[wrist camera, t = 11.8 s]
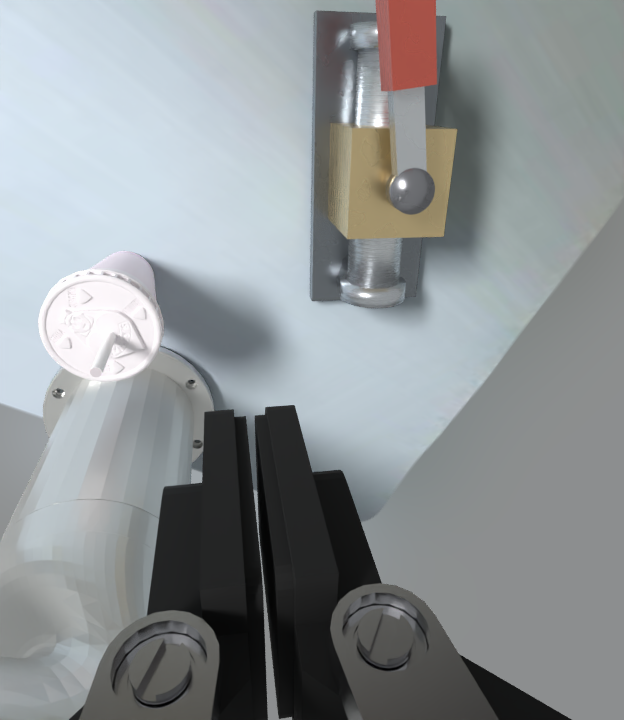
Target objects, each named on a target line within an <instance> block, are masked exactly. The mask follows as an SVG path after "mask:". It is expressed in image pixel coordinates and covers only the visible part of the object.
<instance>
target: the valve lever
mask: <svg viewBox="0 0 624 720" xmlns="http://www.w3.org/2000/svg"><path fill="white" fill-rule="evenodd" d="M376 15H377V31H378V48H379V64H380V81H381V91H387V92H388V110H389V128H390V146H391V164H392V174H391V175H390V177H389V179H388V181H387V183H386V197H387V200H388V202H389V203H390V204H391V205H392V206H393V207H394V208H396V209H397V210H399V211H401V212H402V213H405V214H409V215H413V214H418V213H420V212H422V211H424V210H425V209H426V208H427V207H428V206H429V205H430V203H431V202H432V200H433V197H434V193H435V184H434V181H433V178H432V177H431V175H430V174H429V173H428V172H427V164H426V126H425V88H424V86H430V85H436V84H437V53H436V0H376Z"/></svg>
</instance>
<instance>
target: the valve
mask: <svg viewBox="0 0 624 720" xmlns="http://www.w3.org/2000/svg"><path fill="white" fill-rule="evenodd" d="M445 23H446V16H436V53H437V84H436V85H430V86H424V88H425V126H426V164H427V172H428V173H429V174H430V175H431V177H432V178H433V181H434V184H435V193H434V197H433V200H432V202H431V203H430V205H429V206H428V207H427V208H426V209H425V210H424V211H422V212H420V213H418V214H413V215H409V214H405V213H402V212H401V211H399V210H397V209H396V208H394V207H393V206H392V205H391V204H390V203H389V202H388V200H387V197H386V183H387V181H388V179H389V177H390V175H391V174H392V164H391V146H390V128H389V110H388V92H387V91H381V81H380V64H379V48H378V31H377V15H376V13H359V12H336V11H316V12H315V13H314V49H313V117H312V186H311V254H310V298H311V300H312V301H324V300H343V301H344V302H346V303H348V304H351V305H354V306H359V307H365V308H388V307H393V306H397V305H399V304H401V303H402V302H403V301H404V298H405V297H416V289H417V280H418V271H419V262H420V252H421V243H422V237H444V230H445V222H446V214H447V206H448V198H449V190H450V183H451V175H452V167H453V159H454V151H455V143H456V135H457V129H453V128H446V127H439V126H434V124H435V115H436V105H437V96H438V87H439V78H440V69H441V59H442V50H443V41H444V32H445Z"/></svg>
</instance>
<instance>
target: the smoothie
mask: <svg viewBox="0 0 624 720" xmlns="http://www.w3.org/2000/svg"><path fill="white" fill-rule="evenodd" d="M38 324H39V332H40V336H41V340H42V342H43V345H44V346H45V348H46V350H47V351H48V353H49V354H50V356H51V357H52V358H53V359H54V360H55V361H56V362H57V363H58V364H59V365H60V366H61V367H63V368H64V369H66V370H67V371H69V372H70V373H72V374H74V375H76V376H79V377H81V378H84V379H88V380H92V381H99V382H113V381H120V380H124V379H127V378H130V377H132V376H134V375H136V374H138V373H140V372H141V371H143V370H144V369H145V368H146V367H147V366H148V365H149V364H150V363H151V362H152V361H153V359H154V358H155V356H156V355H157V353H158V350H159V348H160V345H161V342H162V338H163V335H164V320H163V317H162V314H161V310H160V307H159V305H158V304H157V302H156V291H155V279H154V273H153V270H152V267H151V266H150V264H149V263H148V262H147V261H146V260H145V259H144V258H143V257H142V256H140V255H138V254H136V253H133V252H129V251H119V252H115V253H113V254H111V255H109V256H107V257H106V258H104V259H103V260H101V261H100V262H98V263H97V264H95V265H94V266H92V267H91V268H89V269H88V270H83V271H78V272H75V273H73V274H71V275H69V276H67V277H65V278H63V279H61V280H60V281H59V282H58V283H57V284H56V285H55V286H54V287H53V288H52V289H51V290H50V292H49V293H48V295H47V297H46V299H45V301H44V302H43V305H42V307H41V310H40V314H39V323H38Z"/></svg>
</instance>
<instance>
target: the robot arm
mask: <svg viewBox="0 0 624 720" xmlns="http://www.w3.org/2000/svg"><path fill="white" fill-rule="evenodd" d="M189 380H195V381H193V382H191V381H189ZM60 389H62V390H60ZM43 421H44V425H45V428H46V433H47V435H48V436H49V440H48V442H47V445H46V447H45V449H44V451H43V453H42V455H41V458H40V459H39V461H38V464H37V465H36V468H35V470H34V472H33V474H32V476H31V478H30V480H29V482H28V484H27V486H26V488H25V491H24V493H23V495H22V497H21V499H20V501H19V503H18V505H17V507H16V509H15V511H14V513H13V516H12V518H11V520H10V522H9V524H8V526H7V528H6V530H5V532H4V535H3V537H2V539H1V541H0V720H268V715H267V691H266V690H267V689H266V662H265V634H264V610H263V609H264V608H263V586H262V572H261V561H260V551H259V541H258V533H257V522H256V512H255V503H254V493H253V483H252V473H251V463H250V453H249V444H248V434H247V424H246V416H244V417H234V410H221V411H214V402H213V399H212V395H211V392H210V389H209V387H208V385H207V384H206V382H205V380H204V378H203V377H202V376H201V374H200V373H199V372H198V371H197V370H196V369H195V368H194V366H193V365H191V364H190V363H189V362H187V361H186V360H185V359H184V358H182V357H181V356H179V355H177V354H176V353H174V352H172V351H170V350H168V349H166V348H163V347H160V348H159V350H158V353H157V355H156V356H155V358H154V359H153V361H152V362H151V363H150V364H149V365H148V366H147V367H146V368H145V369H144V370H143V371H141V372H140V373H138V374H136V375H134V376H132V377H130V378H127V379H124V380H120V381H113V382H99V381H92V380H88V379H84V378H81V377H79V376H76V375H74V374H72V373H70V372H69V371H67V370H66V369H64V368H63V367H61V368H60V370H59V371H58V372H57V374H56V375H55V377H54V378H53V380H52V382H51V383H50V385H49V387H48V389H47V392H46V395H45V400H44V404H43ZM255 440H256V466H257V492H258V515H259V516H258V517H259V535H260V546H261V556H262V565H263V575H264V584H265V594H266V603H267V613H268V622H269V631H270V641H271V650H272V660H273V669H274V679H275V688H276V698H277V707H278V715H279V719H281V718H287V717H292V720H571V719H569V718H568V717H566V716H564V715H563V714H561V713H559V712H557V711H556V710H554V709H552V708H551V707H549V706H547V705H545V704H544V703H542V702H540V701H539V700H537V699H535V698H533V697H532V696H530V695H528V694H526V693H525V692H523V691H521V690H520V689H518V688H516V687H515V686H513V685H511V684H509V683H508V682H506V681H504V680H503V679H500V678H499V677H497V676H496V675H494V674H492V673H490V672H489V671H487V670H485V669H484V668H482V667H480V666H478V665H477V664H475V663H473V662H471V661H470V660H468V659H466V658H465V657H463V656H461V655H459V653H458V652H457V650H456V648H455V647H454V645H453V643H452V642H451V640H450V638H449V637H448V635H447V634H446V632H445V630H444V629H443V627H442V625H441V624H440V622H439V620H438V619H437V617H436V615H435V614H434V613H433V611H432V610H431V609H430V608H429V607H428V605H427V604H426V603H425V602H424V601H423V600H421V599H420V598H419V597H417V596H416V595H415V594H413V593H412V592H410V591H408V590H405V589H403V588H400V587H398V586H394V585H388V584H382V583H381V580H380V577H379V574H378V571H377V568H376V565H375V562H374V560H373V557H372V554H371V551H370V548H369V545H368V542H367V539H366V536H365V533H364V531H363V528H362V525H361V522H360V519H359V516H358V513H357V510H356V507H355V505H354V502H353V499H352V496H351V493H350V490H349V487H348V484H347V481H346V479H345V476H344V474H343V472H342V471H341V470H334V471H323V472H312V470H311V466H310V462H309V458H308V454H307V451H306V447H305V443H304V439H303V435H302V432H301V428H300V424H299V420H298V416H297V413H296V409H295V406H294V405H289V406H275V407H266V408H265V415H257V416H255ZM202 452H203V478H202V480H203V481H202V483H197V484H191V468H192V463H193V462H194V461H196V460H197V459H198V457H199V456H200V455H201V454H202Z"/></svg>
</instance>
